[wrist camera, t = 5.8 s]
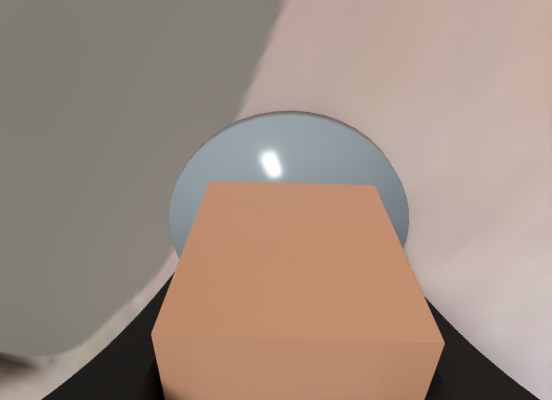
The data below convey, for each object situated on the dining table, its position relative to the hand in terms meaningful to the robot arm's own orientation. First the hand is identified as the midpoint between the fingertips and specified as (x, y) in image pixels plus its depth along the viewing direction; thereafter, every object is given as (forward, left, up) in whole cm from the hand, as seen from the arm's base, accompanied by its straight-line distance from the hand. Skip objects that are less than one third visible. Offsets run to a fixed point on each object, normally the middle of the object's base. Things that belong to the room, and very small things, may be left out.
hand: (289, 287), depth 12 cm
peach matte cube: (0, 0, -2) cm, 2 cm away
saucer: (0, 0, -4) cm, 4 cm away
